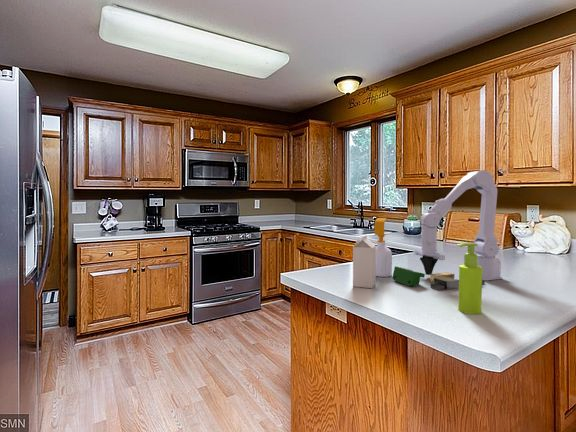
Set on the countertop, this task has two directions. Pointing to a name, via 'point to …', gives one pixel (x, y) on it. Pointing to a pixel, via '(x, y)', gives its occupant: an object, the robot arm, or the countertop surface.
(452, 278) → the light wood block
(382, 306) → the countertop surface
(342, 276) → the countertop surface
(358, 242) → the milk carton
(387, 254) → the soap bottle
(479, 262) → the robot arm
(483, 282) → the chain end blocks
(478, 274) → the soap dispenser
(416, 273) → the green angular piece
